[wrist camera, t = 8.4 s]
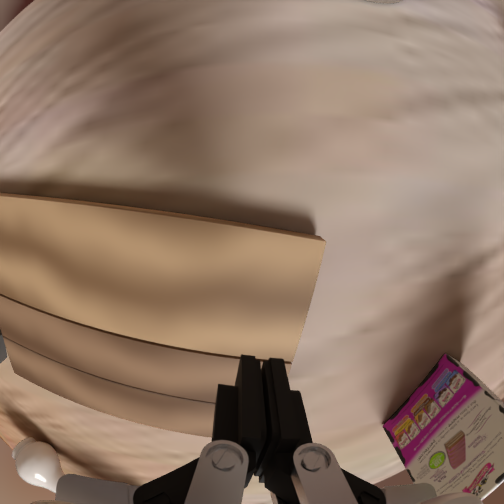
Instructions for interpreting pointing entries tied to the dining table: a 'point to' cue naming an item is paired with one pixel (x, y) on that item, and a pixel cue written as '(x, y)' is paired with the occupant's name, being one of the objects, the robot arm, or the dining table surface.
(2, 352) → the block
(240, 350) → the plank
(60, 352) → the laid board
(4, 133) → the dining table surface
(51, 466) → the flower vase
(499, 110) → the dining table surface
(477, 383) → the candy bar box
